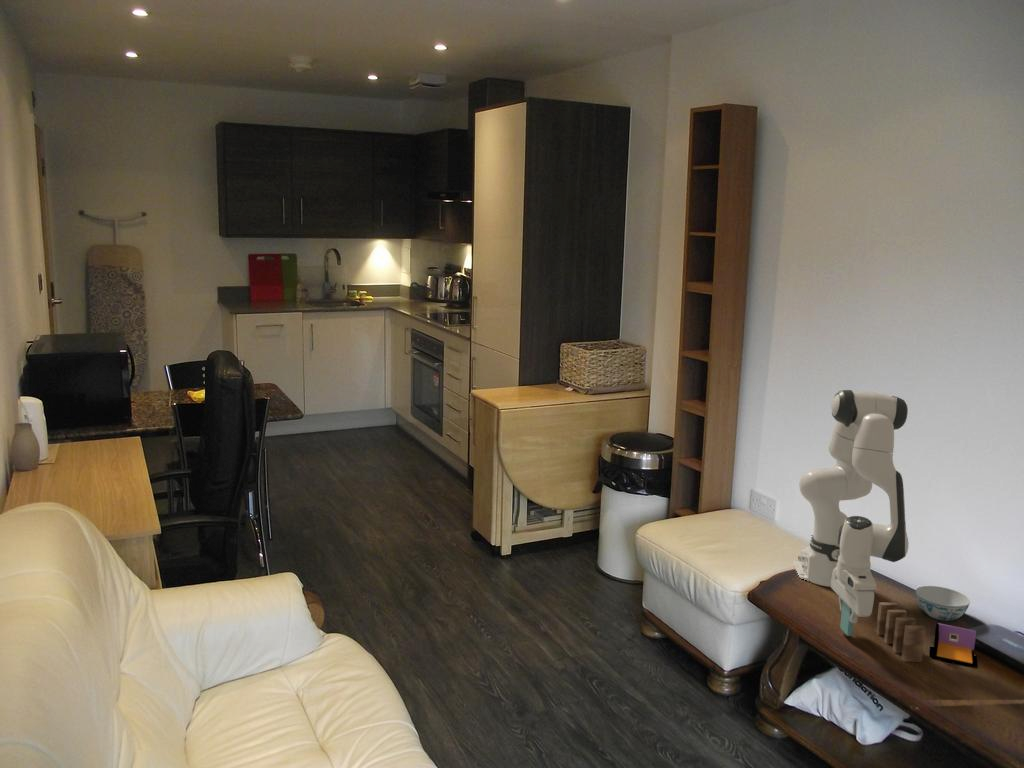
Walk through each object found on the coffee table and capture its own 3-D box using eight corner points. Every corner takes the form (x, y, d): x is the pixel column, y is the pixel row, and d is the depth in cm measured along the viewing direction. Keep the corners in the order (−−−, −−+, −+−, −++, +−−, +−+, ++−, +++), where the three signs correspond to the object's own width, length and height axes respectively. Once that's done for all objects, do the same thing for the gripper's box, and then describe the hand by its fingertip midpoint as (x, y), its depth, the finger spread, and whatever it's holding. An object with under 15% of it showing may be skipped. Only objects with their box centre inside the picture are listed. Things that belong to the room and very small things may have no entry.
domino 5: (904, 661, 231) (908, 628, 229) (901, 658, 233) (905, 625, 231) (921, 661, 231) (925, 628, 230) (918, 658, 233) (922, 625, 231)
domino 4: (895, 652, 236) (898, 619, 234) (892, 650, 237) (896, 617, 236) (912, 653, 236) (916, 620, 234) (909, 650, 238) (913, 617, 236)
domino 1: (840, 627, 247) (843, 596, 245) (845, 627, 247) (848, 596, 245) (847, 635, 242) (850, 603, 240) (852, 635, 242) (856, 603, 240)
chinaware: (912, 622, 256) (914, 599, 254) (914, 604, 269) (916, 582, 267) (967, 634, 249) (970, 610, 247) (966, 615, 262) (969, 592, 260)
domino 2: (878, 636, 246) (881, 604, 244) (875, 634, 247) (879, 602, 246) (894, 636, 246) (898, 604, 244) (892, 634, 248) (895, 602, 246)
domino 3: (886, 644, 241) (890, 612, 239) (883, 641, 242) (887, 609, 241) (903, 644, 241) (907, 612, 239) (900, 642, 243) (904, 609, 241)
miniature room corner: (929, 641, 244) (931, 619, 243) (975, 651, 239) (978, 629, 237) (929, 659, 233) (931, 636, 232) (977, 670, 228) (980, 646, 227)
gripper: (827, 558, 251) (823, 601, 254) (857, 587, 231) (852, 633, 234) (848, 558, 251) (843, 601, 254) (879, 587, 231) (874, 633, 234)
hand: (848, 616), depth 244 cm, fingers closed on domino 1, 5 cm apart
